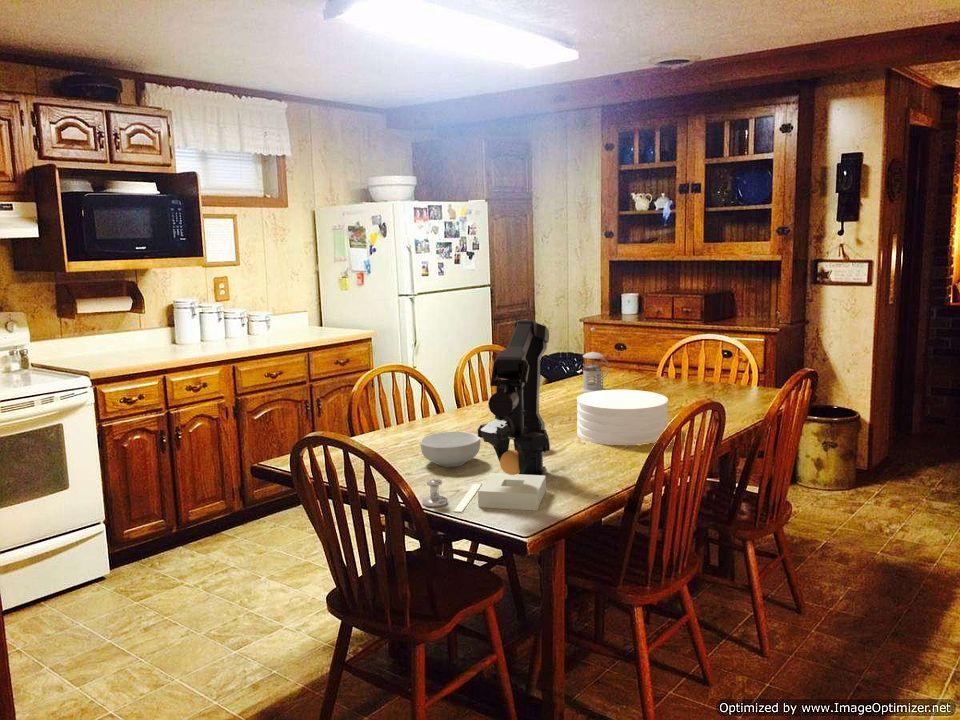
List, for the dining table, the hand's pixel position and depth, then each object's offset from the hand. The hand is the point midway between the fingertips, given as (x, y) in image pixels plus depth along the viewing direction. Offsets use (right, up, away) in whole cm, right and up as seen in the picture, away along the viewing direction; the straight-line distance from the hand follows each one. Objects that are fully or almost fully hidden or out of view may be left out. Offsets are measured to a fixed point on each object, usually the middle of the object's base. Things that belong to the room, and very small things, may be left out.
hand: (512, 470), depth 194 cm
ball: (0, +2, 0) cm, 2 cm away
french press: (+38, +15, +125) cm, 131 cm away
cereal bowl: (-16, -3, +32) cm, 36 cm away
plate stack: (+37, +3, +58) cm, 69 cm away
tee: (-19, -8, 0) cm, 20 cm away
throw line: (-11, -7, +3) cm, 13 cm away
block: (0, -7, +1) cm, 7 cm away
